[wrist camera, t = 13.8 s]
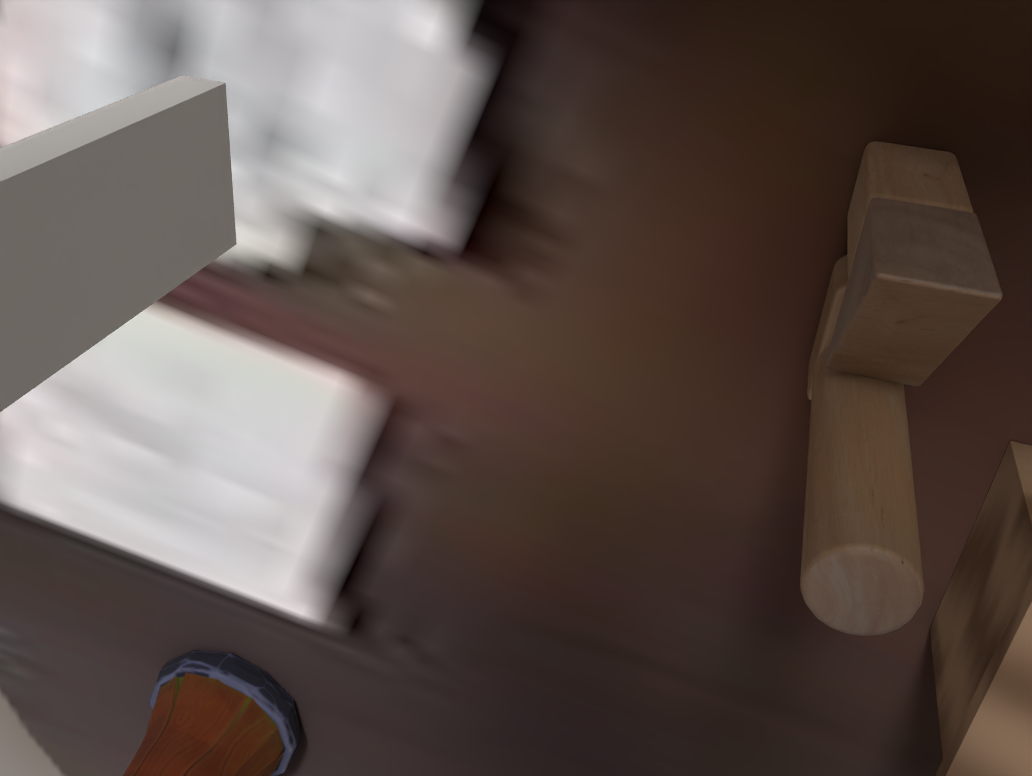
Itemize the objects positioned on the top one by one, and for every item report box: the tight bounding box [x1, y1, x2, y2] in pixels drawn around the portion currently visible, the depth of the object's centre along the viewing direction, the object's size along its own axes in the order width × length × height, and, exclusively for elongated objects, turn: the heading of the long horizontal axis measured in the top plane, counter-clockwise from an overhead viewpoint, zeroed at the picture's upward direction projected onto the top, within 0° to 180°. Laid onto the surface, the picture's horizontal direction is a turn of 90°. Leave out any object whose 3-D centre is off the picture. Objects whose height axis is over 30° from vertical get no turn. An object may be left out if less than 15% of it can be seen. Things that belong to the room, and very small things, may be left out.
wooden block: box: [800, 141, 1002, 636], centre depth 35 cm, size 4×11×18 cm, turn 176°
